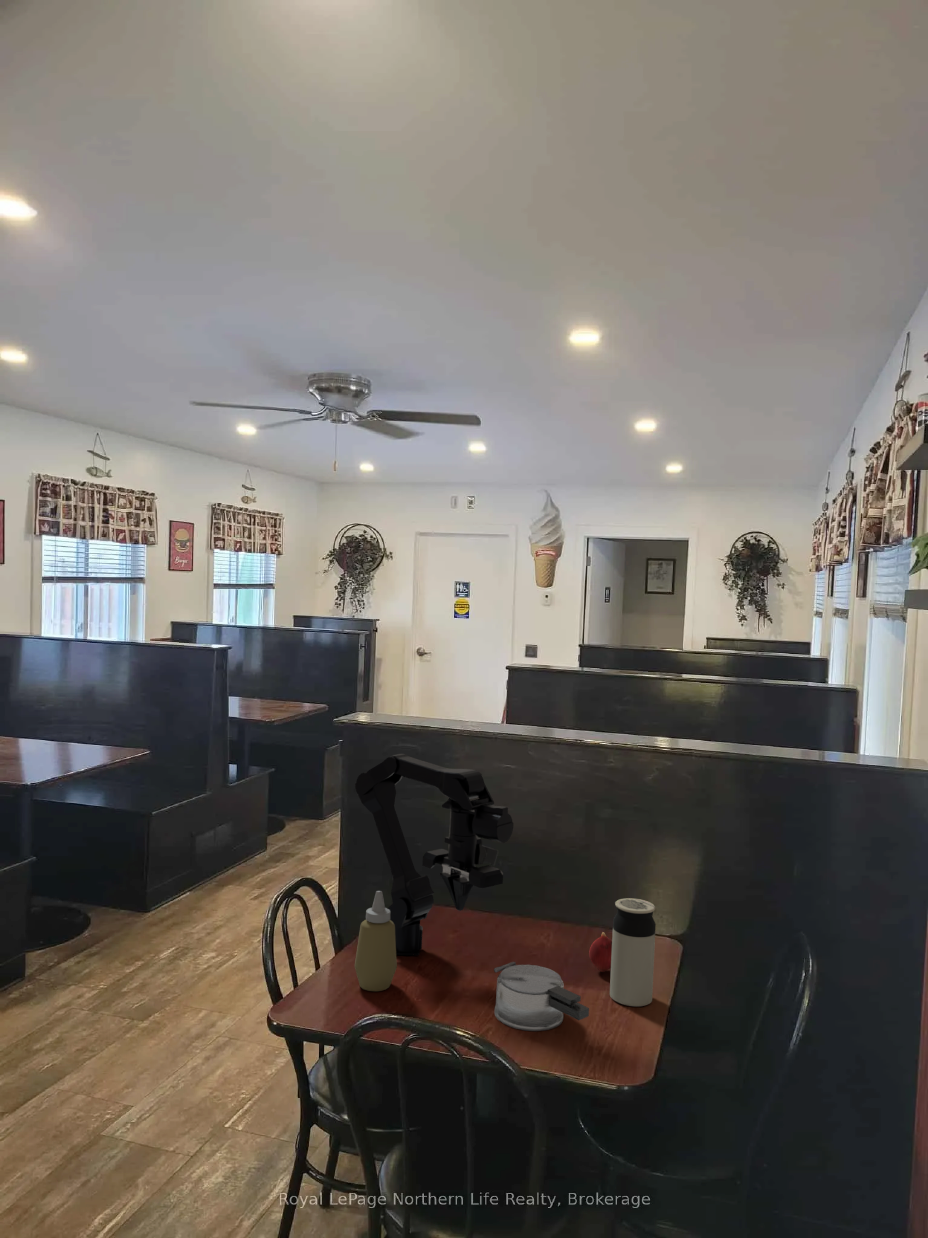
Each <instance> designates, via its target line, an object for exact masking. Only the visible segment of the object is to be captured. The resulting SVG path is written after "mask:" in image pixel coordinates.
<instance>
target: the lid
mask: <svg viewBox="0 0 928 1238" xmlns="http://www.w3.org/2000/svg"><path fill="white" fill-rule="evenodd" d="M493 972H494V973H498V972H500V974H501V975H500V981H501V983H502V985H504V986H505V987H506V988H508V989H510V990H512V991H515V992H518V993H522V994H528V995H544V994H549V995H551V996H553V997H555V998H557V999H559V1000H561V1001H563V1002H565V1003H567V1004H570V1005H572V1004H574V1003H579V1002H581V1000H582V999H581V995H578V994H576V993H574V992H572V991H570V990H568V989H566V988H562V987H561V980H562V977H561V975H560V974H559V973H558V972H557V971H554V970H552V969H550V968H548V967H545V966H541V965H534V964H517V963H516V961H511V962H509V963H507V964H504V965H500V966H497V967H494V969H493Z"/></svg>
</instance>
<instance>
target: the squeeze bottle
mask: <svg viewBox="0 0 928 1238" xmlns="http://www.w3.org/2000/svg"><path fill="white" fill-rule="evenodd" d="M373 898H374V899H373V903H372V905H371V906H372V907H369V908H367V909H366V911H365V919H364V920H363V921H362V922H360V927H359V933H358V941H357V947H356V953H355V960H354V969H355V973H356V978H357V979H358V980H357V981H358V984H359V987H360V988H361V989H362V990H365V991H368V992H382V991H384V990H387V989H389V988H390V987H391V983H392V981H393V979H394V976H395V974H396V971H397V968H398V966H397V964H398V963H397V955H396V941H395V925H394V923H393V922H392V921H391V920H390V910H389V909H387V908H388V907H386V906H385V900H384V895H383V891H382V890H376V891H375V895H374V897H373Z"/></svg>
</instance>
